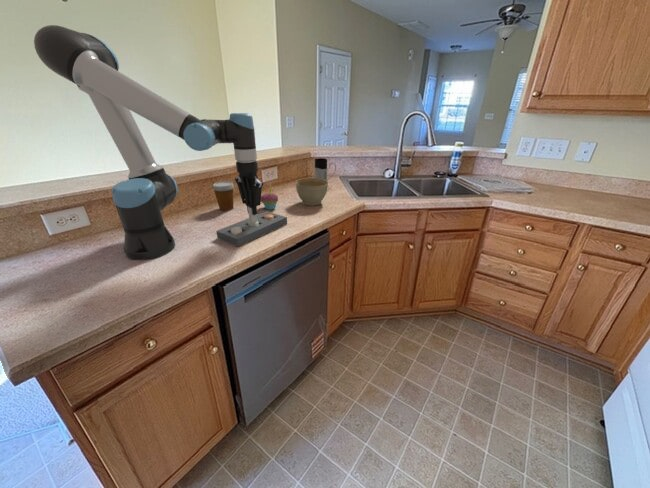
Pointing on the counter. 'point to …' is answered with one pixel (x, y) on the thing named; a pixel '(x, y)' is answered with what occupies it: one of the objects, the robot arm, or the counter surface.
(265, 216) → the terracotta button
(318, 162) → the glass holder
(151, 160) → the robot arm
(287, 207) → the counter surface
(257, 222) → the sage button
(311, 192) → the planter bowl
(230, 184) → the disposable coffee cup
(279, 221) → the button panel
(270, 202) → the cupcake
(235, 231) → the white rounded piece
